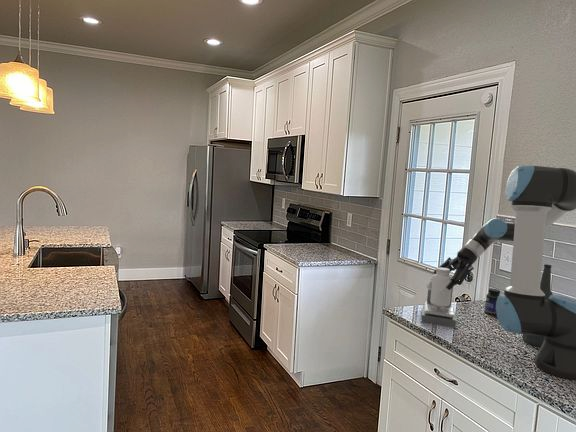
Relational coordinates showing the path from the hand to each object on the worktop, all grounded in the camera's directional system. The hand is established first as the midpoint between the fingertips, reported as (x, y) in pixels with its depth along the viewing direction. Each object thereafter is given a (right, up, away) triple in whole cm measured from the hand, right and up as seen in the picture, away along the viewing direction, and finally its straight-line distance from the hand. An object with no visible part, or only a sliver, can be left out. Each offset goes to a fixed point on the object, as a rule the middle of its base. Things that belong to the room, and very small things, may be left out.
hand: (434, 290), depth 181 cm
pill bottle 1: (+3, -6, +2) cm, 7 cm away
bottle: (+33, -17, -17) cm, 41 cm away
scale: (+3, -12, +4) cm, 13 cm away
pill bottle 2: (+32, -14, +18) cm, 39 cm away
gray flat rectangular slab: (+3, -9, +2) cm, 10 cm away
